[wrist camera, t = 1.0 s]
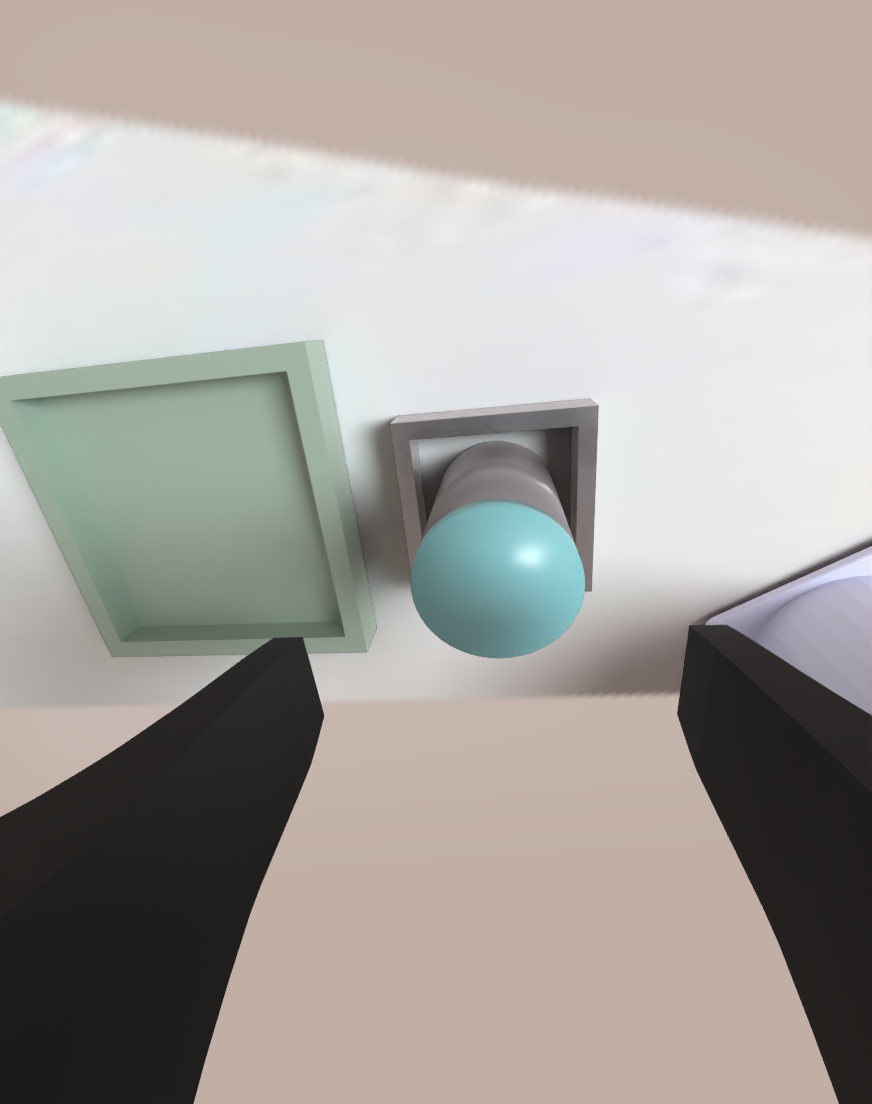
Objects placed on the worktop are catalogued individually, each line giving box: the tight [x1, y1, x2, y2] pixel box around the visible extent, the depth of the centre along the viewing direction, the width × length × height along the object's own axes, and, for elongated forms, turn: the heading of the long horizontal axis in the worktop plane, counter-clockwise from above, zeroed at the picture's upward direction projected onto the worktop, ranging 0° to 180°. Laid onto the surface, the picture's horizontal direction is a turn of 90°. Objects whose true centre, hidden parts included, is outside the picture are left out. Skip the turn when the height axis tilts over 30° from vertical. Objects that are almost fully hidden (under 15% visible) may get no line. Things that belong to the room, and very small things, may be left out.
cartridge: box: [411, 441, 585, 658], centre depth 15 cm, size 4×4×7 cm
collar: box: [390, 399, 599, 592], centre depth 18 cm, size 7×7×2 cm
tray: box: [0, 340, 377, 657], centre depth 19 cm, size 12×12×2 cm
